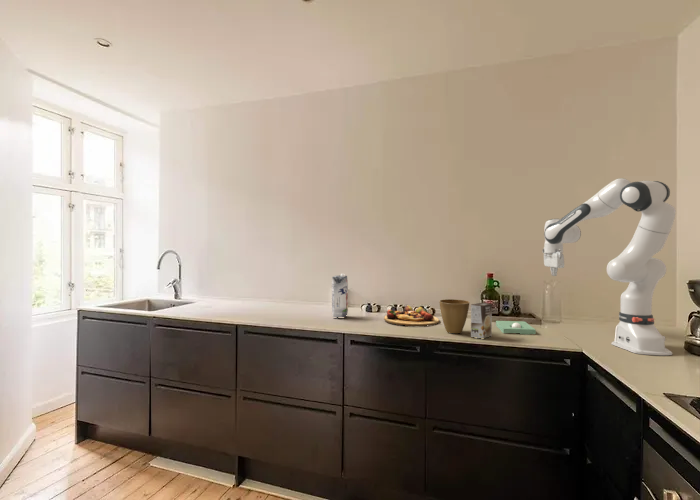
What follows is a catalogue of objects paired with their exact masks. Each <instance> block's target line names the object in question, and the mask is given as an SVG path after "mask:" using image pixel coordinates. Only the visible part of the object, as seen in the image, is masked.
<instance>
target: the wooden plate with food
mask: <svg viewBox="0 0 700 500" xmlns="http://www.w3.org/2000/svg"><path fill="white" fill-rule="evenodd" d="M383 320H384V322H386V323H387V322H388V324H390V323H392V324H391V325H394V324H396V325H395V326H399V325H405V326H404V327H408V326H424V327H428V326H427V325H432V326H435V325H434V324H436V325H438V324H440V319H439V318H438V317H436V316H434V315H433V313H430V312H429V311H428V310H427V309H425V308H423V307H422V306H419V307H417V308H416V309H415V310H413V308H412V306H411V305H406V306H405V307H404V309H403V310H402V311H400V310H394V309H393V310H392V309H387V312H386V315H385V316H384V317H383ZM437 323H438V324H437Z"/></svg>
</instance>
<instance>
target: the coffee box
mask: <svg viewBox="0 0 700 500" xmlns="http://www.w3.org/2000/svg"><path fill="white" fill-rule="evenodd" d="M470 307H471V308H470V311H471V312H470V337H477V338H486V337H489V336H491V337H492V334H493V333H492V328H493V327H492V326H493V325H492V324H493V322H492V321H493V317H492V315H493V314H492V313H493V309H492V307H493V305H492V303H487V302H479V303H472V304H471V305H470ZM477 338H476V339H477ZM489 338H490V337H489ZM486 339H487V338H486Z"/></svg>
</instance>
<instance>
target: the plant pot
mask: <svg viewBox="0 0 700 500" xmlns="http://www.w3.org/2000/svg"><path fill="white" fill-rule="evenodd" d="M438 303H439V310H440V314H441V318H442V322H443V325H444V328H445V331H447V332H450V333H460V334H462V333H461V332H463V330H464V327H465V324H466V320H467V317H468V313H469V307H470V301H468V300H464V299H453V298H450V299H449V298H447V299H444V298H443V299H439V302H438ZM447 332H446V333H447ZM450 333H449V334H450Z"/></svg>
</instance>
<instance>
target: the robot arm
mask: <svg viewBox="0 0 700 500" xmlns="http://www.w3.org/2000/svg"><path fill="white" fill-rule="evenodd" d="M670 194H671V190H670V187H669V186H668V185H667V184H666V183H665V182H662V181H658V180H653V181H652V180H641V181H632V182H631V181H630V180H629V179H626V178H623V177H622V178H616V179H614V180H612V181H611V182H608V184H606V185H605V186H603V187H602V188H601V189H600V190H599V191H598V192H596V193H595V194H594V195H593V196H592V197H590V198H589V199H587V200H586V201H584V202H583V203H581V204H580V205H579V206H578V205H577V207H575V208H573V210H571V211H570V212H569V213H567V214H566V215H564V216H563V217H561V218H551V219H547V220H546V221H545V223H544V227H543V228H544V229H543V230H544V231H543V232H544V233H543V236H544V245H543V248H542V254H543V265H544V267H548V268H550V269H549V270H550V273H551V276H552V277H557V275H558V270H559V269H563V268H565V256H564V244H573V243H576V242H578V241H579V240H580V238H581V236H582V231H581V229H580V227H579V226H578V224H579V223H581V222H583V221H586V220H590V219H597V218H604V217H607V216H608V215H610V214H612V213H614V212H615V211H617V210H618V209H619V208H620V207H621V206H623V205H625V206H626V207H629V208H631V209H632V210H633V211H634V212H641V216H640V220H639V221H638V224H637V227H636V229H635V231H634V234H633V236H632V238H631V240H630V241H629V243H628V244H627V246H626V247H625V248H624V249H623V251H622V252H620V254H618V255H617V256H616V257H615V258H613V259H611V260H610V261H609V262H608V263H607V265H606V274H607V276H608V277H609V278H610V279H611V280H613V281H615V282H619V283H620V282H621V283H629V284H628V286H627V288H626V289H625V290H624V291H623V292H622V293H621V295H620V300H619V303H620V307H619V308H620V311H618V312H619V313H618V320H619V322H618V323H617V325H616V326H615V332H614V334H615V335H614V341H612V342H611V345H613V346H615V347H618V348H621V349H623V350H626V351H629V352H631V353H634V354H638V355H648V356H649V355H650V356H672V355H673V352H672V351H671V350H670V349H668V348H666V346H665V342H666V336H664V335H662V334H661V332H660V331H659V329H658V328H657V327H656V326H655V318H654V315H653V313H652V310H653V304H652V303H653V296H654V292H655V289H656V287H657V285H658V283H659V281H660V280H661V279H662V278H663V277H665V275H666V274H667V273H666V272H667V266H666V264H665V262H664V261H663V260H661V259H659V258H656V257H653V256H654V255H657V254H658V253H659V252H661V251H662V250H663V248H664V246H665V244H666V242H667V239H668V237H669V236H670V233H671V231H672V228H673V225H674V222H675V219H676V214H677V211H676V208H675V206H673V205H672V204H670V203H669V202H666V201H667V200H668V199H669V197H670V196H671V195H670Z"/></svg>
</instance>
